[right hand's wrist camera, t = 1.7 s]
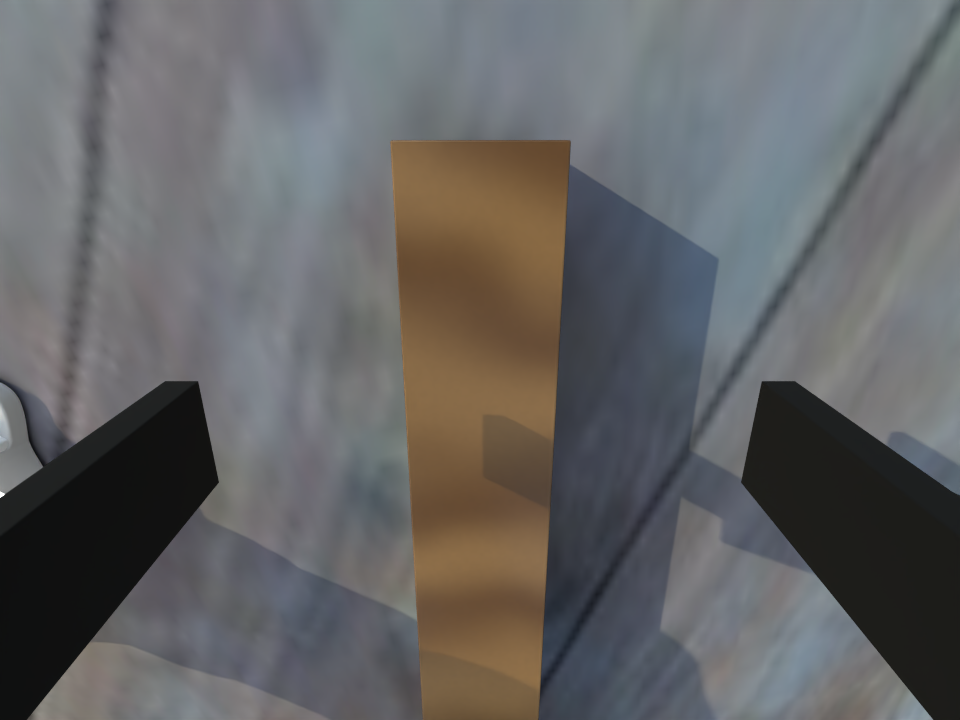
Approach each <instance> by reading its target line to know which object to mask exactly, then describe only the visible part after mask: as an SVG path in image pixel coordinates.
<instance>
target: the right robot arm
mask: <svg viewBox="0 0 960 720" xmlns="http://www.w3.org/2000/svg"><path fill="white" fill-rule="evenodd" d="M218 483H219V481H218V476H217V471H216V466H215V461H214V456H213V452H212V447H211V442H210V437H209V432H208V427H207V422H206V418H205V413H204V408H203V403H202V398H201V393H200V388H199V384H198V381H165V382H164V383H162V384H161V385H159V386H158V387H156V388H155V389H154V390H152V391H151V392H149V393H148V394H146V395H145V396H144V397H142V398H141V399H139V400H138V401H137V402H135V403H134V404H132V405H131V406H129V407H128V408H127V409H125V410H124V411H122V412H121V413H119V414H118V415H117V416H115V417H114V418H112V419H111V420H109V421H108V422H107V423H105V424H104V425H102V426H101V427H100V428H98V429H97V430H95V431H94V432H92V433H91V434H90V435H88V436H87V437H85V438H84V439H82V440H81V441H80V442H78V443H77V444H75V445H74V446H73V447H71V448H70V449H68V450H67V451H65V452H64V453H63V454H61V455H60V456H58V457H57V458H55V459H54V460H53V461H51V462H50V463H48V464H47V465H46V466H44V467H43V468H41V469H40V470H38V471H37V472H36V473H34V474H33V475H31V476H30V477H28V478H27V479H26V480H24V481H23V482H21V483H20V484H18V485H17V486H16V487H14V488H13V489H11V490H10V491H9V492H7V493H6V494H4V495H3V496H1V497H0V720H27V719H28V717H29V716H30V715H31V714H32V712H33V711H34V710H35V709H36V708H37V706H38V705H39V704H40V703H41V701H42V700H43V699H44V698H45V696H46V695H47V694H48V693H49V691H50V690H51V689H52V688H53V687H54V685H55V684H56V683H57V682H58V680H59V679H60V678H61V677H62V675H63V674H64V673H65V672H66V670H67V669H68V668H69V667H70V666H71V664H72V663H73V662H74V661H75V659H76V658H77V657H78V656H79V654H80V653H81V652H82V651H83V649H84V648H85V647H86V646H87V645H88V643H89V642H90V641H91V640H92V638H93V637H94V636H95V635H96V633H97V632H98V631H99V630H100V628H101V627H102V626H103V625H104V624H105V622H106V621H107V620H108V619H109V617H110V616H111V615H112V614H113V612H114V611H115V610H116V609H117V607H118V606H119V605H120V604H121V603H122V601H123V600H124V599H125V598H126V596H127V595H128V594H129V593H130V591H131V590H132V589H133V588H134V587H135V585H136V584H137V583H138V582H139V580H140V579H141V578H142V577H143V575H144V574H145V573H146V572H147V570H148V569H149V568H150V567H151V566H152V564H153V563H154V562H155V561H156V559H157V558H158V557H159V556H160V554H161V553H162V552H163V551H164V549H165V548H166V547H167V546H168V545H169V543H170V542H171V541H172V540H173V538H174V537H175V536H176V535H177V533H178V532H179V531H180V530H181V528H182V527H183V526H184V525H185V524H186V522H187V521H188V520H189V519H190V517H191V516H192V515H193V514H194V512H195V511H196V510H197V509H198V507H199V506H200V505H201V504H202V503H203V501H204V500H205V499H206V498H207V496H208V495H209V494H210V493H211V491H212V490H213V489H214V488H215V486H216V485H217V484H218ZM741 483H742V484H743V485H744V486H745V488H746V489H747V490H748V491H749V493H750V494H751V495H752V496H753V498H754V499H755V500H756V501H757V503H758V504H759V505H760V506H761V507H762V509H763V510H764V511H765V512H766V514H767V515H768V516H769V517H770V519H771V520H772V521H773V522H774V524H775V525H776V526H777V527H778V528H779V530H780V531H781V532H782V533H783V535H784V536H785V537H786V538H787V540H788V541H789V542H790V543H791V545H792V546H793V547H794V548H795V549H796V551H797V552H798V553H799V554H800V556H801V557H802V558H803V559H804V561H805V562H806V563H807V564H808V566H809V567H810V568H811V569H812V570H813V572H814V573H815V574H816V575H817V577H818V578H819V579H820V580H821V582H822V583H823V584H824V585H825V587H826V588H827V589H828V590H829V591H830V593H831V594H832V595H833V596H834V598H835V599H836V600H837V601H838V603H839V604H840V605H841V606H842V607H843V609H844V610H845V611H846V612H847V614H848V615H849V616H850V617H851V619H852V620H853V621H854V622H855V624H856V625H857V626H858V627H859V628H860V630H861V631H862V632H863V633H864V635H865V636H866V637H867V638H868V640H869V641H870V642H871V643H872V645H873V646H874V647H875V648H876V649H877V651H878V652H879V653H880V654H881V656H882V657H883V658H884V659H885V661H886V662H887V663H888V664H889V666H890V667H891V668H892V669H893V670H894V672H895V673H896V674H897V675H898V677H899V678H900V679H901V680H902V682H903V683H904V684H905V685H906V687H907V688H908V689H909V690H910V691H911V693H912V694H913V695H914V696H915V698H916V699H917V700H918V701H919V703H920V704H921V705H922V706H923V708H924V709H925V710H926V711H927V712H928V714H929V715H930V716H931V717H932V719H933V720H960V495H958V494H955V493H953V492H951V491H950V490H949V489H947V488H946V487H944V486H943V485H942V484H940V483H939V482H937V481H936V480H934V479H933V478H932V477H930V476H929V475H927V474H926V473H924V472H923V471H922V470H920V469H919V468H917V467H916V466H914V465H913V464H912V463H910V462H909V461H907V460H906V459H905V458H903V457H902V456H900V455H899V454H897V453H896V452H895V451H893V450H892V449H890V448H889V447H887V446H886V445H885V444H883V443H882V442H880V441H879V440H878V439H876V438H875V437H873V436H872V435H870V434H869V433H868V432H866V431H865V430H863V429H862V428H860V427H859V426H858V425H856V424H855V423H853V422H852V421H851V420H849V419H848V418H846V417H845V416H843V415H842V414H841V413H839V412H838V411H836V410H835V409H833V408H832V407H831V406H829V405H828V404H826V403H825V402H823V401H822V400H821V399H819V398H818V397H816V396H815V395H814V394H812V393H811V392H809V391H808V390H806V389H805V388H804V387H802V386H801V385H799V384H798V383H796V382H795V381H762V384H761V388H760V393H759V398H758V403H757V408H756V413H755V418H754V422H753V427H752V432H751V437H750V442H749V447H748V452H747V456H746V461H745V466H744V471H743V476H742V481H741Z"/></svg>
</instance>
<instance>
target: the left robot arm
mask: <svg viewBox="0 0 960 720" xmlns="http://www.w3.org/2000/svg"><path fill="white" fill-rule="evenodd" d="M41 468H43V466H42V464H41V462H40V461H39V459H38V458H37V456H36V454H35V452H34V451H33V449H32V447H31V444H30V442H29V439H28V431H27V425H26V419H25V415H24V411H23V407H22V404H21V402H20V400H19V398H18V397H17V395H16V394H15V393H14V392H13V391H12V390H11V389H10V388H9V387H8V386H6V385H4V384H3V383H1V382H0V497H1V496H3V495H4V494H6V493H7V492H9V491H10V490H11V489H13V488H14V487H16V486H17V485H18V484H20V483H21V482H23V481H24V480H26V479H27V478H28V477H30V476H31V475H33V474H34V473H36V472H37V471H38V470H40V469H41Z"/></svg>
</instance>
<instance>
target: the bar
mask: <svg viewBox="0 0 960 720" xmlns="http://www.w3.org/2000/svg"><path fill="white" fill-rule="evenodd" d="M570 146H571V141H570V140H392V141H391V160H392V178H393V196H394V214H395V231H396V249H397V267H398V285H399V303H400V320H401V338H402V356H403V374H404V392H405V409H406V427H407V445H408V463H409V481H410V498H411V516H412V534H413V552H414V570H415V588H416V605H417V623H418V641H419V659H420V677H421V694H422V712H423V720H538V719H539V701H540V684H541V666H542V648H543V630H544V612H545V594H546V576H547V558H548V540H549V522H550V504H551V487H552V469H553V451H554V433H555V415H556V397H557V379H558V361H559V343H560V325H561V307H562V290H563V272H564V254H565V236H566V218H567V200H568V182H569V164H570Z"/></svg>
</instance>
